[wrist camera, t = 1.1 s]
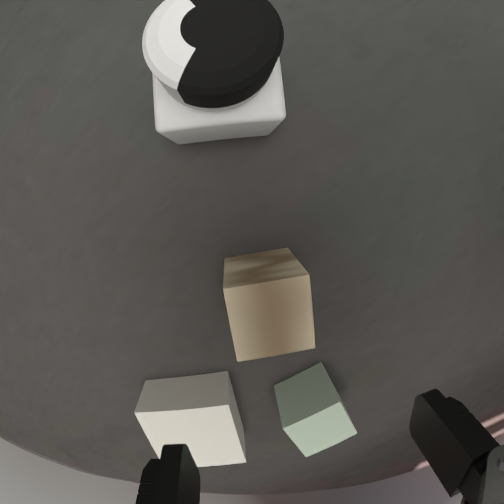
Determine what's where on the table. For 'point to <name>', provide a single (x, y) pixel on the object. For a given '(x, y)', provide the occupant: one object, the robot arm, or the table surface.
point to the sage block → (313, 411)
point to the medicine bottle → (215, 69)
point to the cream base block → (194, 417)
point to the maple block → (268, 304)
